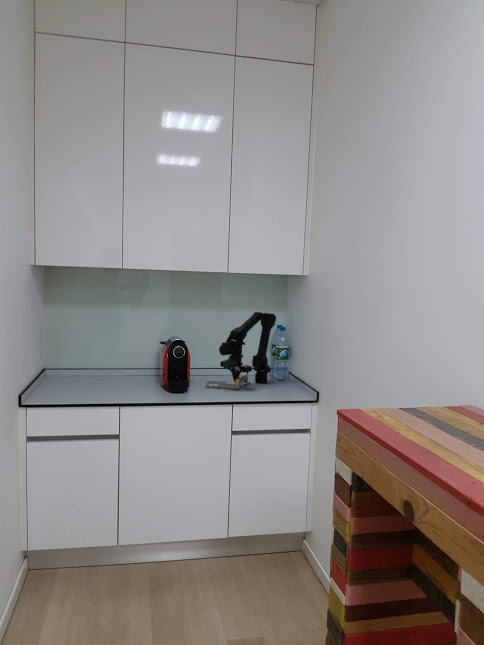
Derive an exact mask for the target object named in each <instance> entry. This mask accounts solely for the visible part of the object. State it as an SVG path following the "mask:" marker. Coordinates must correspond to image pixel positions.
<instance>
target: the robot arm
mask: <svg viewBox="0 0 484 645" xmlns="http://www.w3.org/2000/svg"><path fill="white" fill-rule="evenodd" d="M276 321H277V316H276V314H275V313H271V312H260V311H254V312H253V314H252V315H251V316H250V317H249V318H248V319H247V320H246V321H244V322H243V324H241V325H240V326H238V327H235V328H233V329H232V330H231V331H230V332H229V335H228V337H227V339H226V340H225V341H224V342H223V341H222V342H221V344H220V346H219V347H218V352H219V354H220V355H221V356H228V358H227V359H224V360H222V361H220V363H219V364H220V365H219V366H220V367H222V368H224V369H227V370H228V371H229V372H230V373H231V376H232V379H233V382H236V378H238V377H239V376H241V375H242V374H241V373H247V372H248V373H250V372H252V371H254V372H256V373H255V374H254V382H255V383H256V384H265V385H267V384H268V374H270V373H271V370H272V369H271V366H270V365H269V360H268V356H267V352H268V348H269V347H268V346H269V343H270V342H269V341H270V336H271V330H272V329H273V328H274V327H275V325H276ZM259 322H260V325H261V332H260V339H259V342H258V347H257V348H258V349H257V353H256V354H255V355H252V360H251V365H252V366H251V365H248V364H244V362H243V361H242V360H243V358H244V354H243V346H245V345H246V342H244V340H245V339H246V337H247V336H248V333H249V331H250V330H251V329H253V328H254V327H255V326H256V324H258V323H259Z"/></svg>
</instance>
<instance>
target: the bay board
mask: <svg viewBox="0 0 484 645" xmlns="http://www.w3.org/2000/svg"><path fill="white" fill-rule="evenodd" d="M240 385H241V384H240ZM240 385H236V382H234V381H217V380H207V382H206V384H205V387H204V388H205V389H215V390H216V389H217V390H218V389H220V390H240Z"/></svg>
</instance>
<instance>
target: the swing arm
mask: <svg viewBox="0 0 484 645" xmlns="http://www.w3.org/2000/svg"><path fill="white" fill-rule="evenodd" d="M248 380H249V372H247V373H244V372H242V374H240V375H239V377H238V378H236V385H241V382H245V383H246V382H249V381H248Z"/></svg>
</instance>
